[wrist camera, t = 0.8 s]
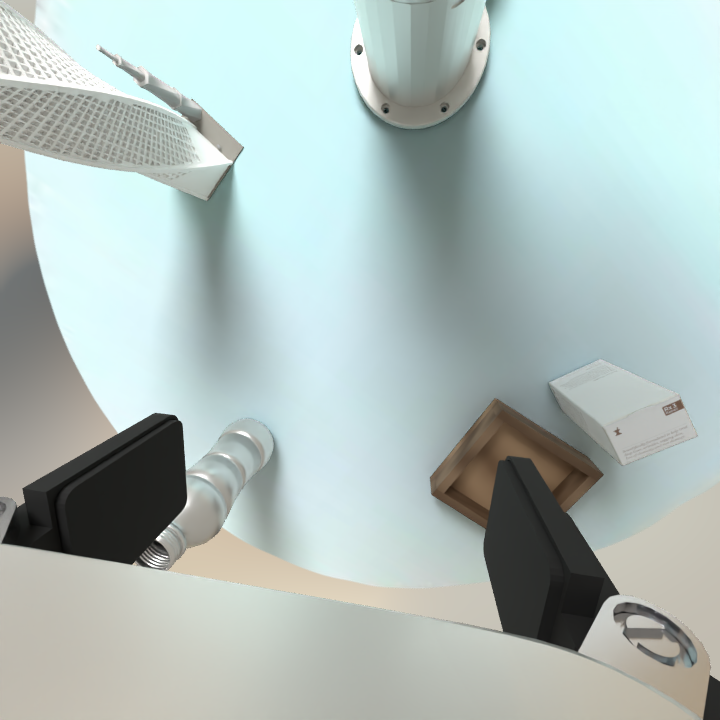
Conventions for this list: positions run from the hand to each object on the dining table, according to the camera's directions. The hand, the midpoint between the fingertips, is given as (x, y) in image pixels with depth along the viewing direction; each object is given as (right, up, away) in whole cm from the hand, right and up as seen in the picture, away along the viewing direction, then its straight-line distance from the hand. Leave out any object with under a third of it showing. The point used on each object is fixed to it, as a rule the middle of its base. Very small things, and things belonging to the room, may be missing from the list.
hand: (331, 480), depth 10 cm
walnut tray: (+18, -10, +33) cm, 39 cm away
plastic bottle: (-13, -7, +37) cm, 40 cm away
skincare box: (+25, +1, +30) cm, 39 cm away
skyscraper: (-16, +25, +29) cm, 42 cm away
